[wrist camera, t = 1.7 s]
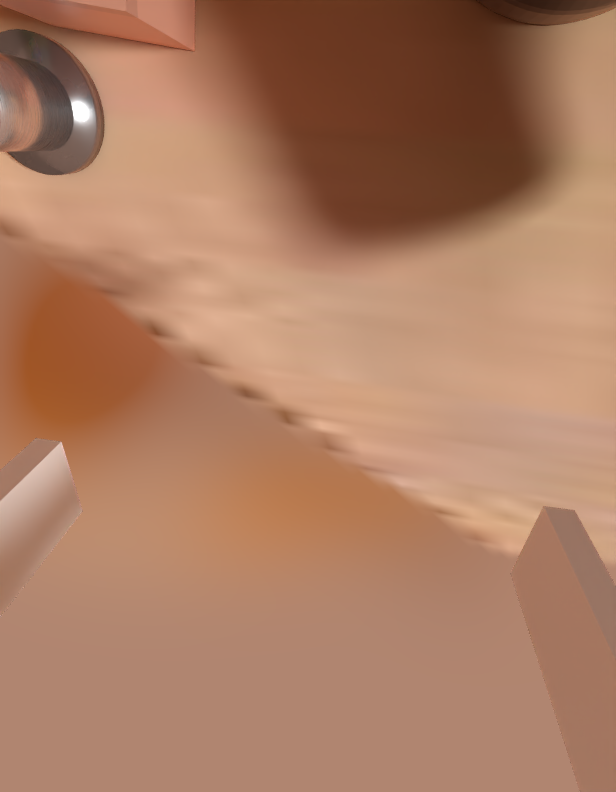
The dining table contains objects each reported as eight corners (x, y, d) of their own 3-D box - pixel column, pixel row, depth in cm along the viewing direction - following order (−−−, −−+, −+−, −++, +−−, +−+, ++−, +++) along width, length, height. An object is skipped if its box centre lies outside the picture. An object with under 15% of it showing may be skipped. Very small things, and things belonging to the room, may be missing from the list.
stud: (-24, 23, 24) (-167, -23, 17) (98, 45, 24) (0, 6, 17) (3, 163, 27) (-106, 169, 21) (109, 183, 27) (32, 194, 21)
